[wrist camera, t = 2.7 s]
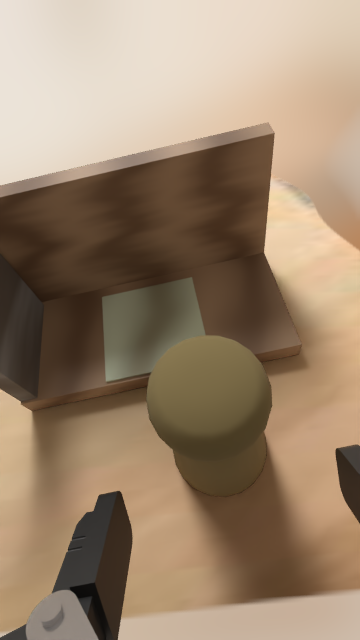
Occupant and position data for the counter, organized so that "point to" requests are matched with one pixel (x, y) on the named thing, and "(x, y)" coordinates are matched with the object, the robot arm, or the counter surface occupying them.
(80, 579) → the robot arm
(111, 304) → the shelf
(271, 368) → the counter surface
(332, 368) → the counter surface
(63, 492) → the counter surface
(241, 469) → the cork
